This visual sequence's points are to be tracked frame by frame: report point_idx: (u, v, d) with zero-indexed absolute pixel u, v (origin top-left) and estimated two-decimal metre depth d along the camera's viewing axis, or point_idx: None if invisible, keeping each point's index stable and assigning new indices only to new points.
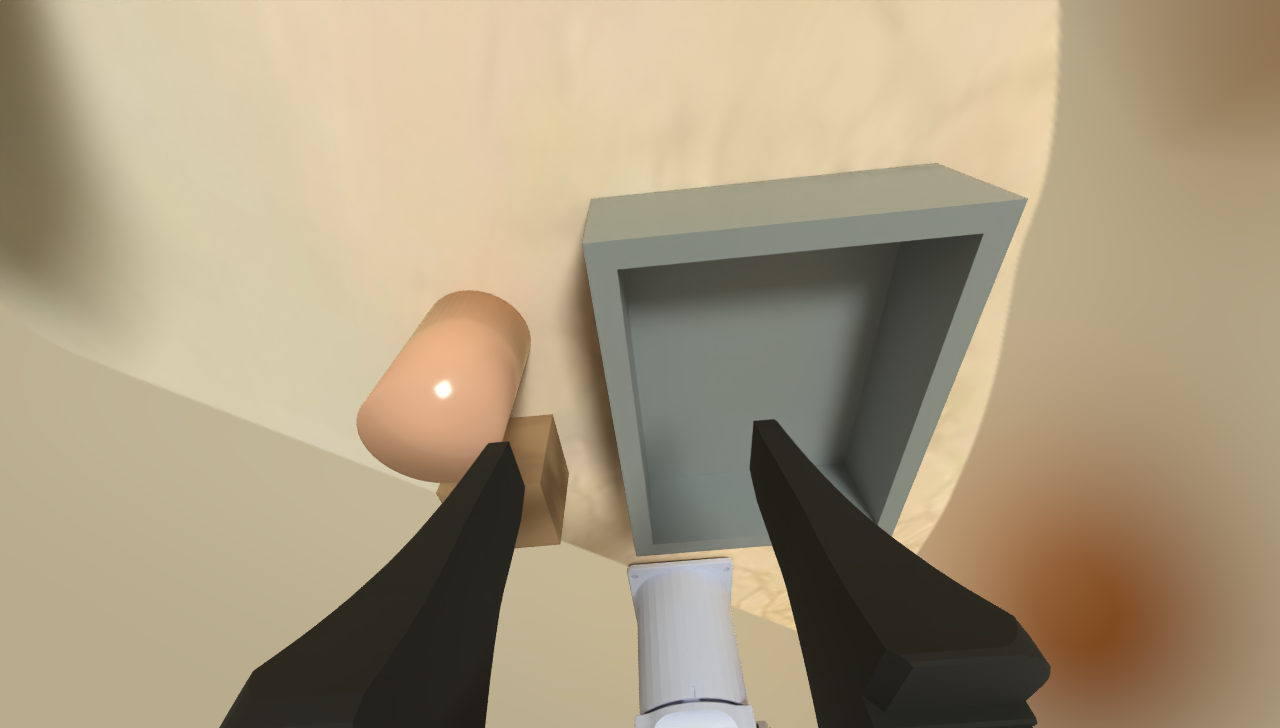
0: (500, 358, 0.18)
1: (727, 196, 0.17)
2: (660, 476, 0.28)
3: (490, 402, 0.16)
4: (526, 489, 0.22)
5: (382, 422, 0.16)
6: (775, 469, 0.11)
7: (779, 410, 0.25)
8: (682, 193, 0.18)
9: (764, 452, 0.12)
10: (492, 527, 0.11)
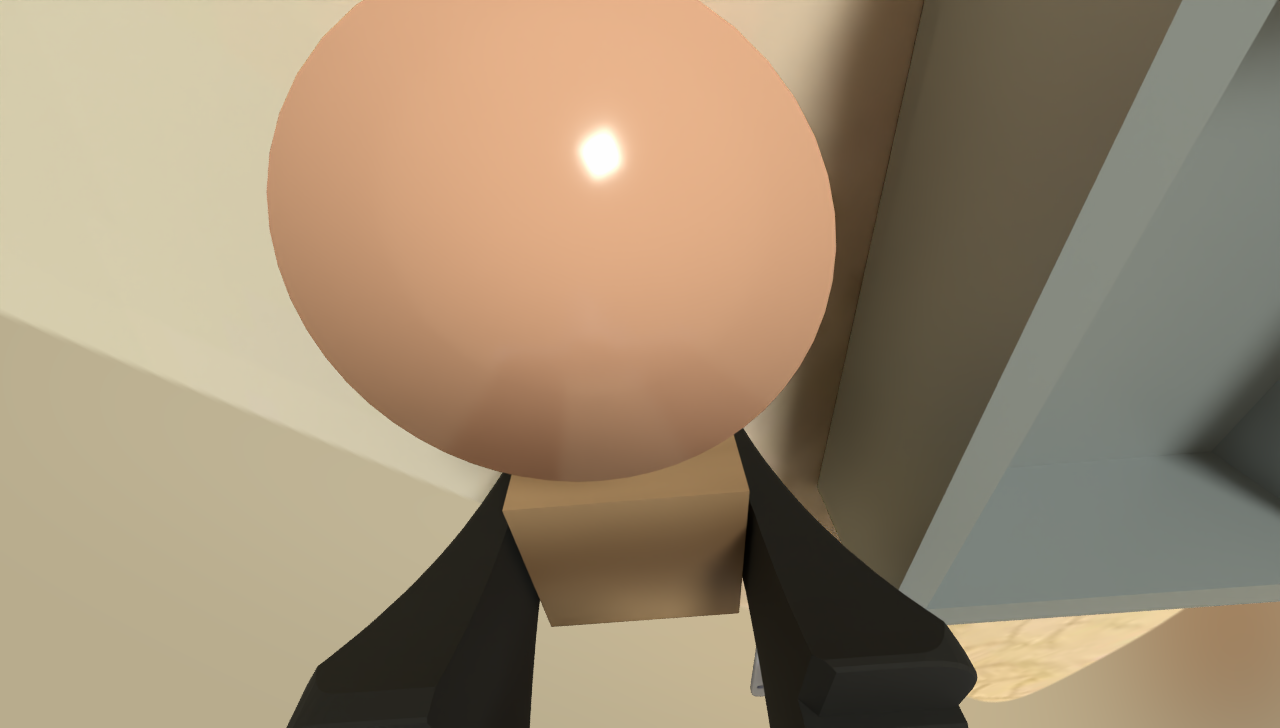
0: None
1: None
2: None
3: None
4: (713, 503, 0.09)
5: (381, 219, 0.04)
6: None
7: (1163, 343, 0.13)
8: None
9: None
10: None
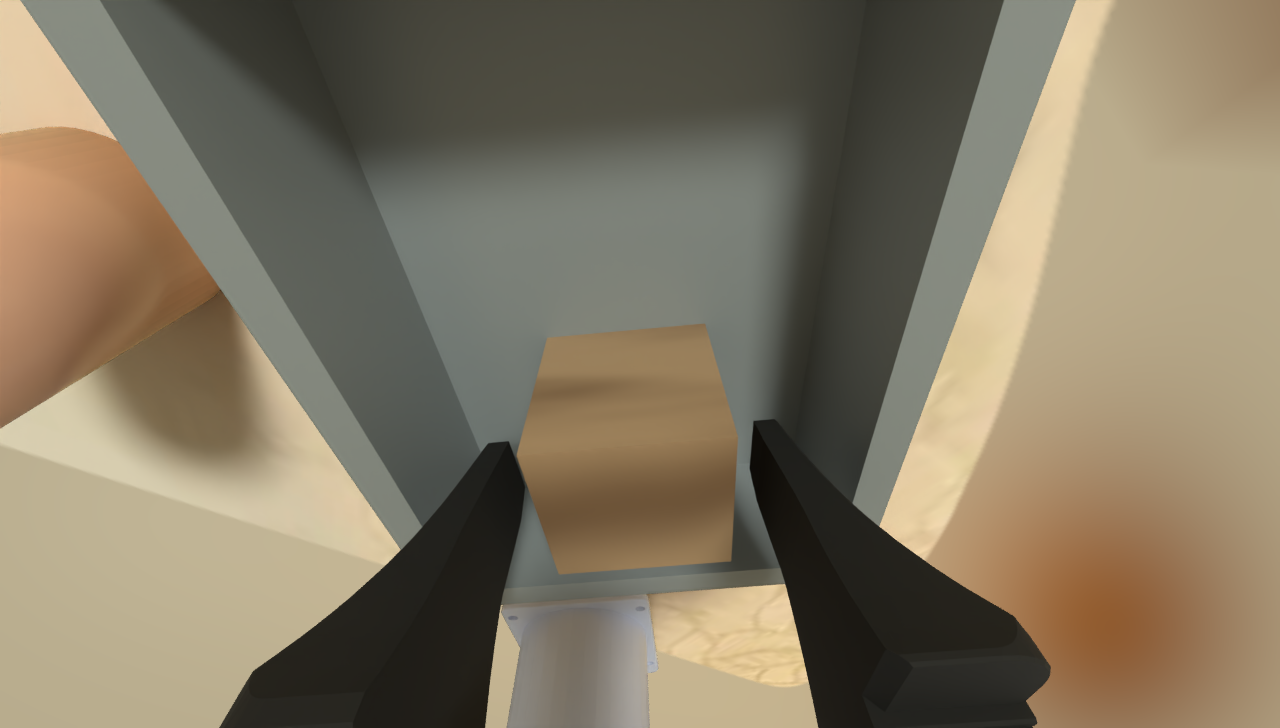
0: (10, 225, 0.09)
1: None
2: None
3: None
4: (706, 449, 0.10)
5: None
6: (775, 469, 0.11)
7: None
8: None
9: (764, 452, 0.12)
10: (492, 526, 0.11)
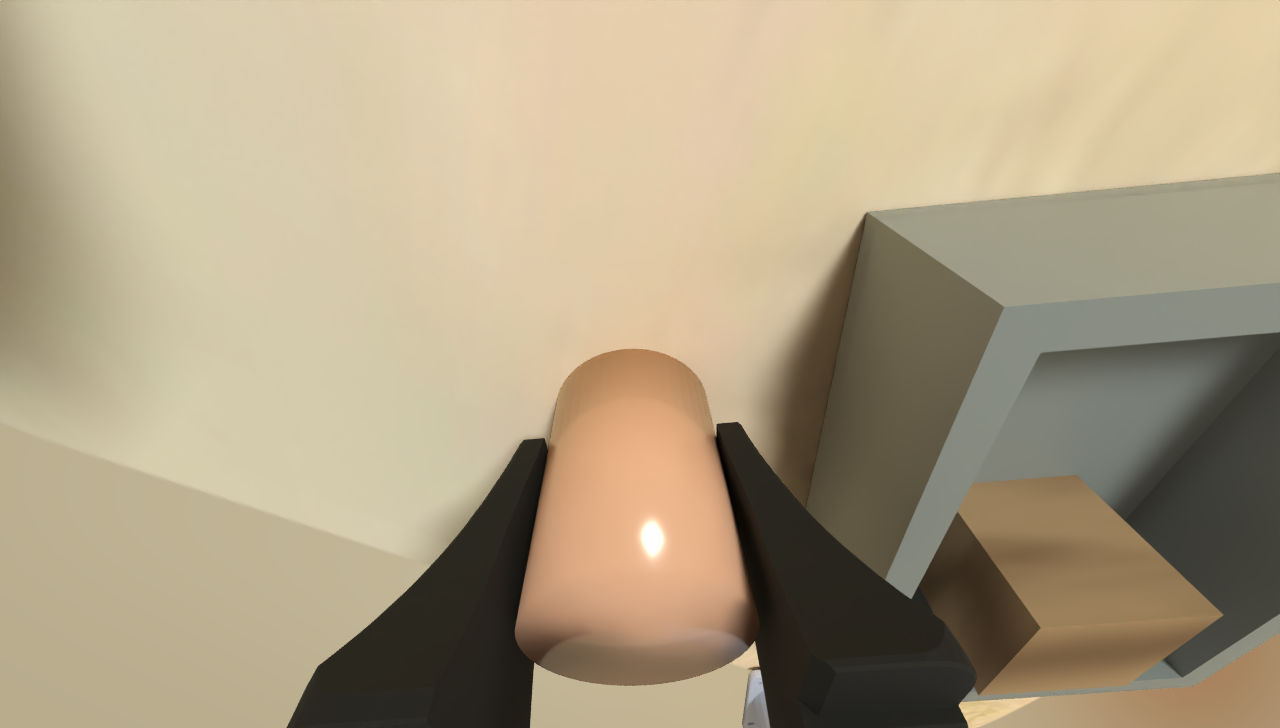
0: (720, 473, 0.11)
1: (1141, 210, 0.10)
2: None
3: (746, 574, 0.09)
4: (1190, 622, 0.13)
5: (563, 619, 0.09)
6: (733, 472, 0.11)
7: None
8: (1032, 204, 0.11)
9: (724, 455, 0.12)
10: (532, 523, 0.11)
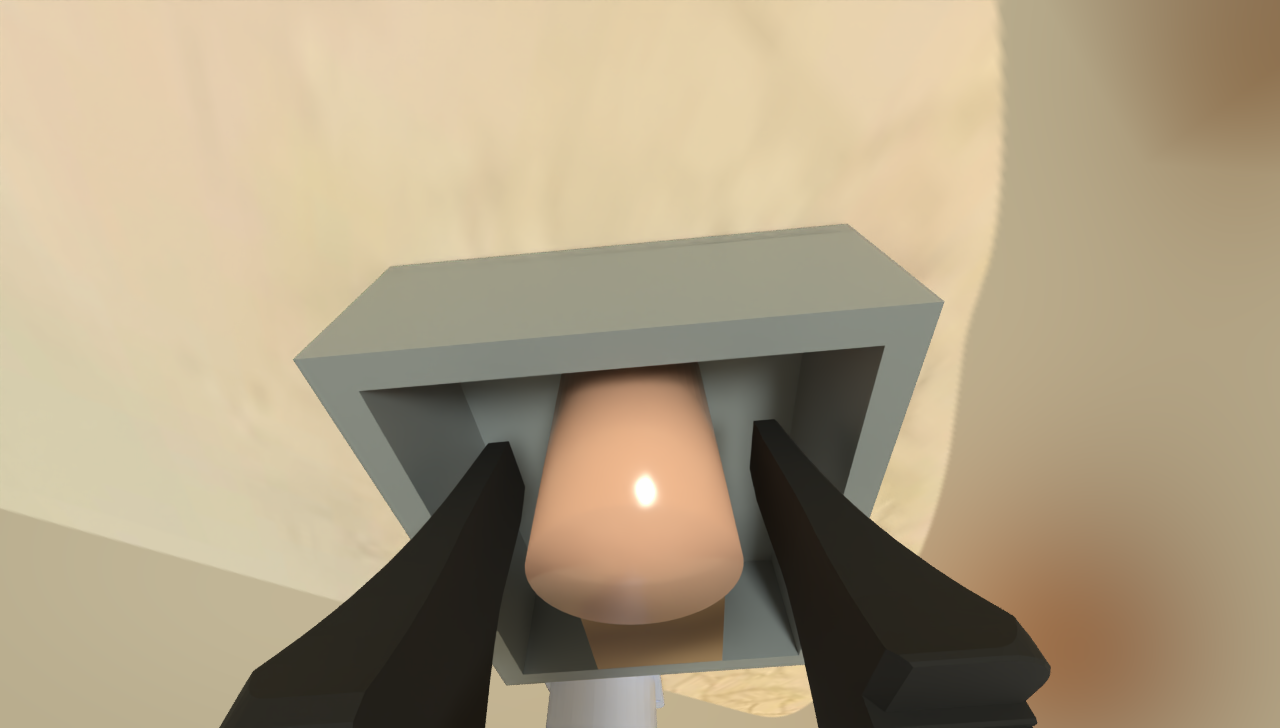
0: (710, 433, 0.12)
1: (554, 271, 0.12)
2: None
3: (732, 516, 0.10)
4: None
5: (568, 554, 0.10)
6: (775, 469, 0.11)
7: None
8: (505, 262, 0.13)
9: (764, 452, 0.12)
10: (492, 526, 0.11)
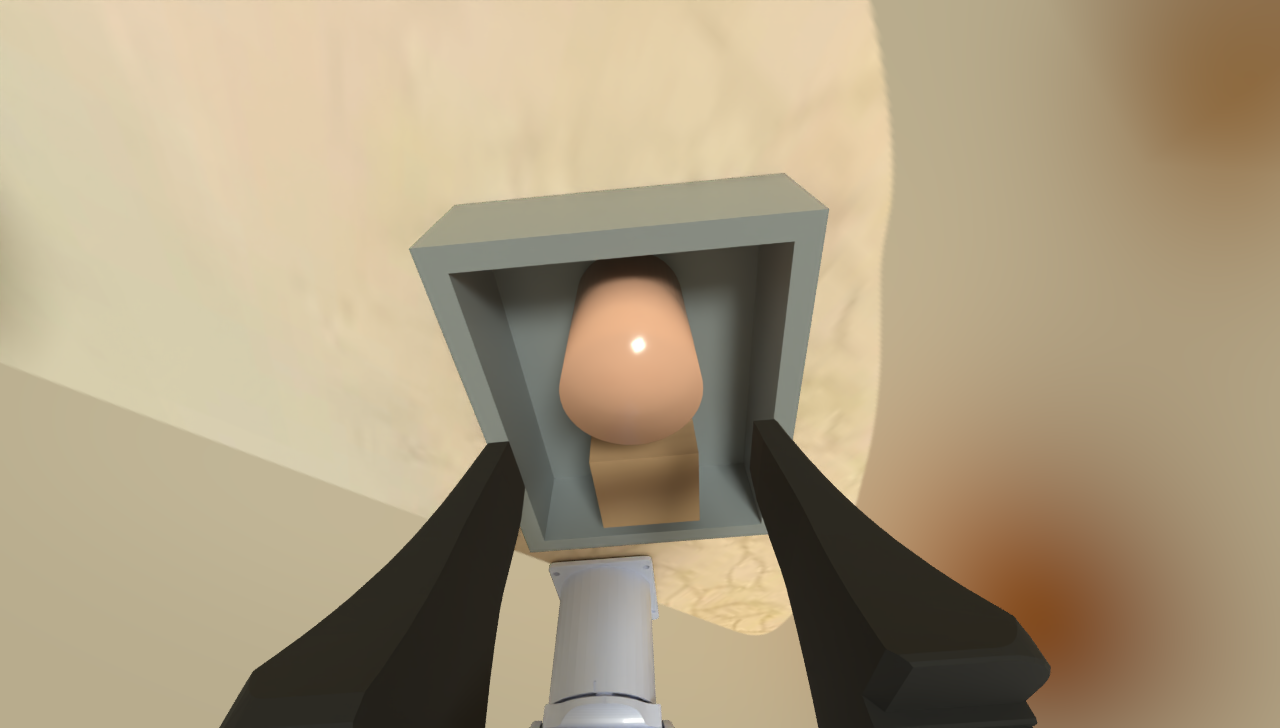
0: (684, 315, 0.17)
1: (574, 203, 0.18)
2: (564, 474, 0.28)
3: (695, 356, 0.16)
4: (683, 459, 0.21)
5: (588, 375, 0.15)
6: (775, 469, 0.11)
7: None
8: (538, 200, 0.19)
9: (764, 452, 0.12)
10: (492, 526, 0.11)
